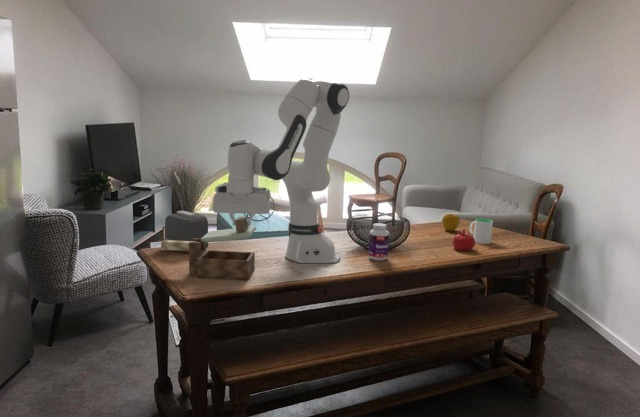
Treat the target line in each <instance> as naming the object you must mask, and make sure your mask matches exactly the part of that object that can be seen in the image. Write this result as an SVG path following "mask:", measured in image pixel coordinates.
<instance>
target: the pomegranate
mask: <svg viewBox="0 0 640 417" xmlns="http://www.w3.org/2000/svg"><path fill="white" fill-rule="evenodd" d="M451 243H452V246H453V249H455V250H456V251H459V252H469V251H471V250H473V249H474V247H475V246H476V242H475V239H474V236H473V235H472V234H471V233H470V231H469V232H468V231H467V232H466V229H462V232H460V231H457V232H456V235H455V236H454V237H453V239H452V241H451Z"/></svg>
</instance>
